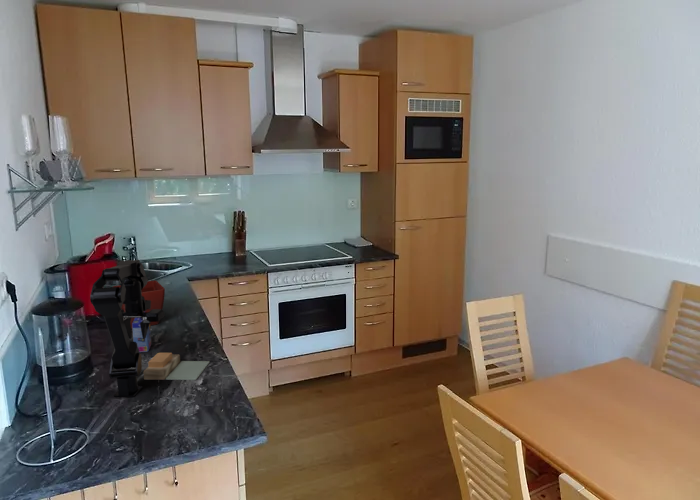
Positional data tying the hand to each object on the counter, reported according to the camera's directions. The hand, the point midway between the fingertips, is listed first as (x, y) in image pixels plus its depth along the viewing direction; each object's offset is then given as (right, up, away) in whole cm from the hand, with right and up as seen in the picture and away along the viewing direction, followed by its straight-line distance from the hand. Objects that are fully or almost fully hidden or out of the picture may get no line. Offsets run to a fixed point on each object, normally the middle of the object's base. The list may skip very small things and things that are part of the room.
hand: (137, 338), depth 171 cm
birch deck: (+8, -12, +2) cm, 14 cm away
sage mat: (+17, -12, +1) cm, 21 cm away
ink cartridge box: (-7, -8, +22) cm, 25 cm away
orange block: (+8, -9, +1) cm, 12 cm away
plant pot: (-20, -2, +51) cm, 54 cm away
